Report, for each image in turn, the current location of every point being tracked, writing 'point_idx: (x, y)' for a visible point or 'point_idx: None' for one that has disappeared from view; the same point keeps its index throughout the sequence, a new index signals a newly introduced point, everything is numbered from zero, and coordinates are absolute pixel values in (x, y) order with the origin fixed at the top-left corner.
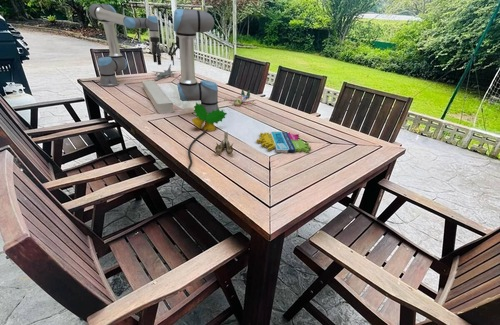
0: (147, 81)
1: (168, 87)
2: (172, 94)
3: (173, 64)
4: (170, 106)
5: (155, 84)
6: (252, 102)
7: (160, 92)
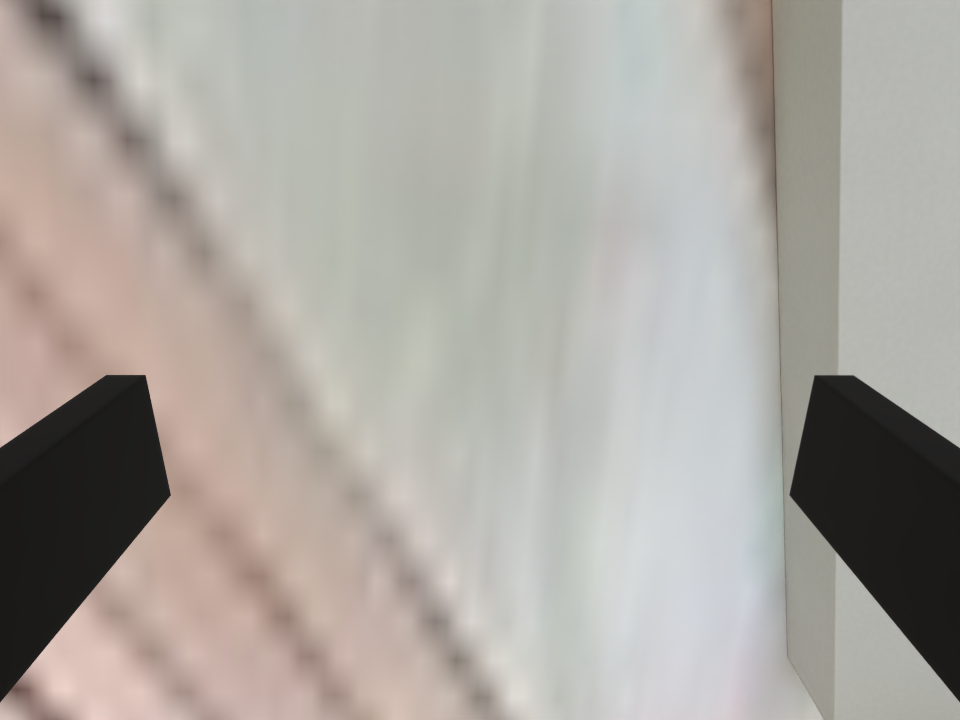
0: (932, 689)
1: (631, 672)
2: (622, 382)
3: (849, 389)
4: None
5: None
6: None
7: (905, 36)
